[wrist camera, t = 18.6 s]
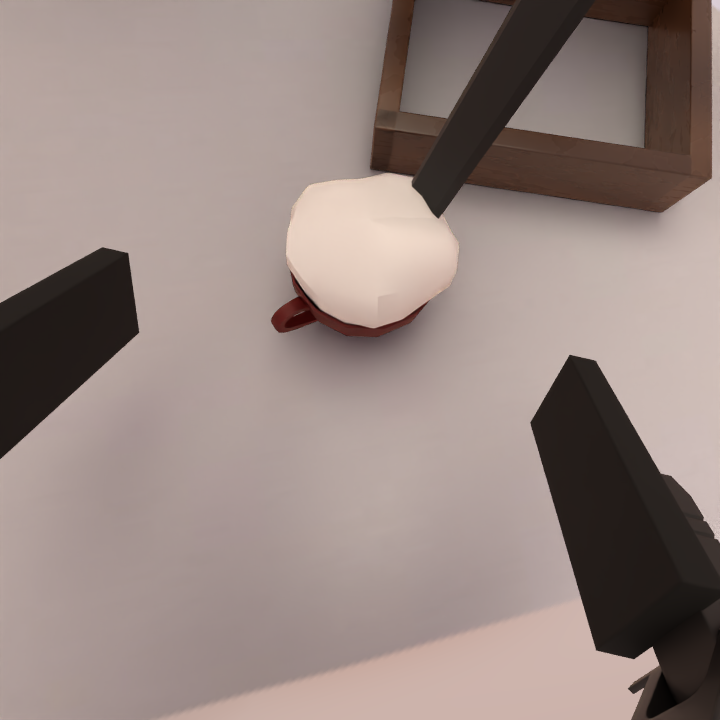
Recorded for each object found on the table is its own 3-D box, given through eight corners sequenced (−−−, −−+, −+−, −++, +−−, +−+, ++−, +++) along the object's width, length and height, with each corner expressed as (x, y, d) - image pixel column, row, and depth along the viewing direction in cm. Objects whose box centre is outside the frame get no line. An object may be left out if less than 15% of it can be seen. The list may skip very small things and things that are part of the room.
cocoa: (288, 369, 20) (204, 274, 8) (260, 244, 20) (147, -12, 9) (484, 322, 20) (681, 170, 8) (448, 204, 21) (579, -83, 9)
